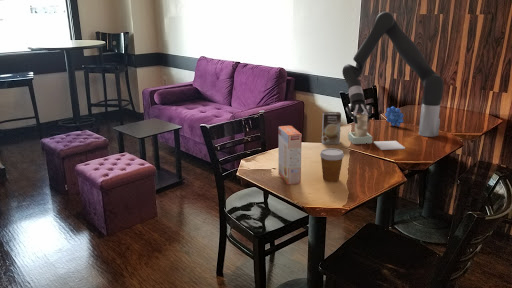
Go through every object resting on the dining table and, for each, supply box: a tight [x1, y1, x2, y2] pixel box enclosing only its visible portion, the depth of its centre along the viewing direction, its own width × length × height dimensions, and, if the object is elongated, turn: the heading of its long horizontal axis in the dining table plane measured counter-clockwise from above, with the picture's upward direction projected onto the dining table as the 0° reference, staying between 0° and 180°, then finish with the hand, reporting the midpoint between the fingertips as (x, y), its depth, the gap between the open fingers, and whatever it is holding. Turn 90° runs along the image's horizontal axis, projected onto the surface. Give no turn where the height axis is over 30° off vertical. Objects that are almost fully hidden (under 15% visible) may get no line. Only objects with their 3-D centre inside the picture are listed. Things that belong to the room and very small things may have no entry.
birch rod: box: [354, 113, 369, 137], centre depth 208 cm, size 5×5×13 cm
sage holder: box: [347, 131, 373, 145], centre depth 209 cm, size 10×10×4 cm
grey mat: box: [372, 140, 406, 151], centre depth 200 cm, size 12×12×1 cm
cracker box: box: [277, 125, 303, 185], centre depth 160 cm, size 14×6×21 cm, turn 12°
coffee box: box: [321, 111, 342, 145], centre depth 206 cm, size 9×6×16 cm
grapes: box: [384, 105, 404, 127], centre depth 235 cm, size 12×7×12 cm, turn 47°
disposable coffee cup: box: [319, 147, 345, 183], centre depth 158 cm, size 10×10×12 cm
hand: (361, 122), depth 205 cm, fingers closed on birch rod, 5 cm apart
